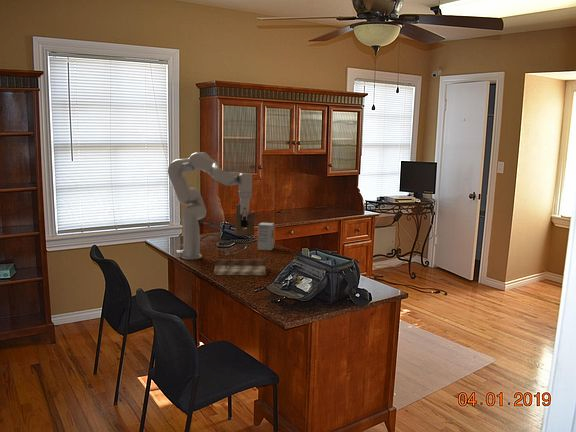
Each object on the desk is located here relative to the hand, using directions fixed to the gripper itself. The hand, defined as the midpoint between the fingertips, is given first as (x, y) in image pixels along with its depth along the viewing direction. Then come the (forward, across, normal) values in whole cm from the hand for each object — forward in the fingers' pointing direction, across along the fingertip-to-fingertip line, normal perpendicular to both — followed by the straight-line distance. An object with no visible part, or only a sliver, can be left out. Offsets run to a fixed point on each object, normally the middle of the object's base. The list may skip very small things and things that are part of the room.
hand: (244, 225), depth 291 cm
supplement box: (+23, -40, +14) cm, 48 cm away
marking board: (+23, +15, -2) cm, 27 cm away
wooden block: (+6, 0, 0) cm, 6 cm away
